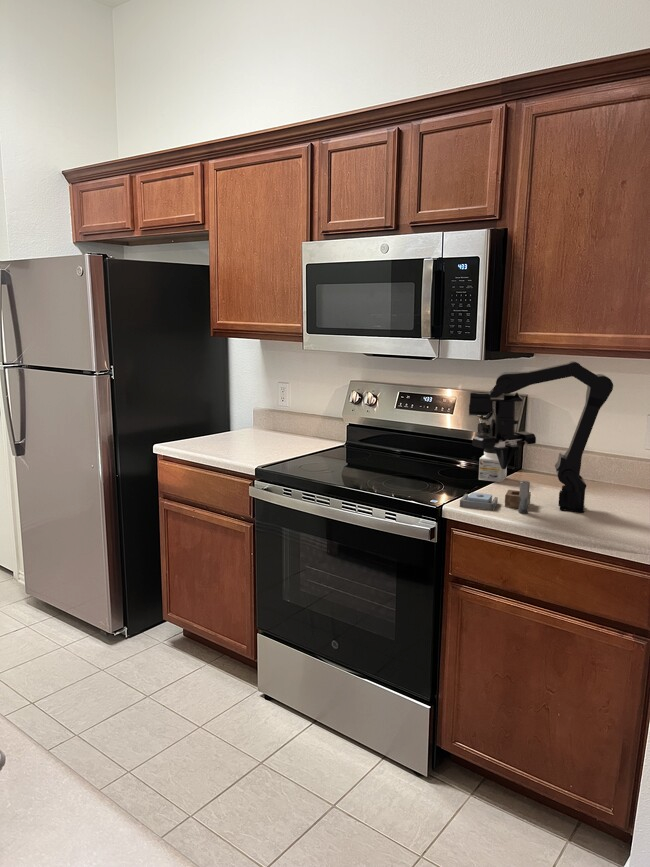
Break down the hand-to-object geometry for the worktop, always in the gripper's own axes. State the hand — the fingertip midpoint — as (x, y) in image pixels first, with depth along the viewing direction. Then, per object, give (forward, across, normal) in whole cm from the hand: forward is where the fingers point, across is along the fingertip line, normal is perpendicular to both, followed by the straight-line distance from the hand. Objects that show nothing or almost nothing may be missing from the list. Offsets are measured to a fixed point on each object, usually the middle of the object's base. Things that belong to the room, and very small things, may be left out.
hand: (503, 468), depth 193 cm
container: (+11, -15, -26) cm, 32 cm away
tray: (+10, +7, -2) cm, 13 cm away
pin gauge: (+11, 0, +10) cm, 14 cm away
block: (+11, +7, -2) cm, 13 cm away
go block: (+11, -3, +3) cm, 12 cm away
